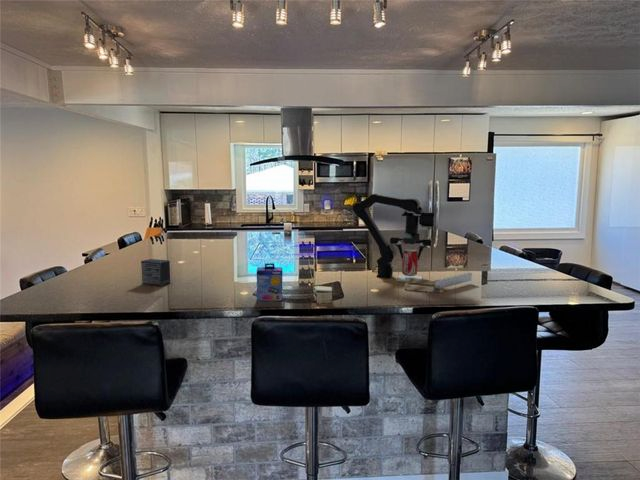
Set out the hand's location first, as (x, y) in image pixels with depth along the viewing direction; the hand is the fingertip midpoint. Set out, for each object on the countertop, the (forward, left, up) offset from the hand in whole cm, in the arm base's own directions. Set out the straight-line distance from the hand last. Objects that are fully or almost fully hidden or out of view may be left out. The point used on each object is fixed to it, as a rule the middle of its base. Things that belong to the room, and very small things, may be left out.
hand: (410, 259), depth 199 cm
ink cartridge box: (-47, -53, -10) cm, 71 cm away
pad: (0, 0, -10) cm, 10 cm away
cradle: (+7, -13, -10) cm, 18 cm away
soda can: (0, 0, -8) cm, 8 cm away
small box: (-103, -50, -10) cm, 115 cm away
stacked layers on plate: (-27, -48, -10) cm, 56 cm away
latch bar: (+20, -9, -8) cm, 23 cm away
